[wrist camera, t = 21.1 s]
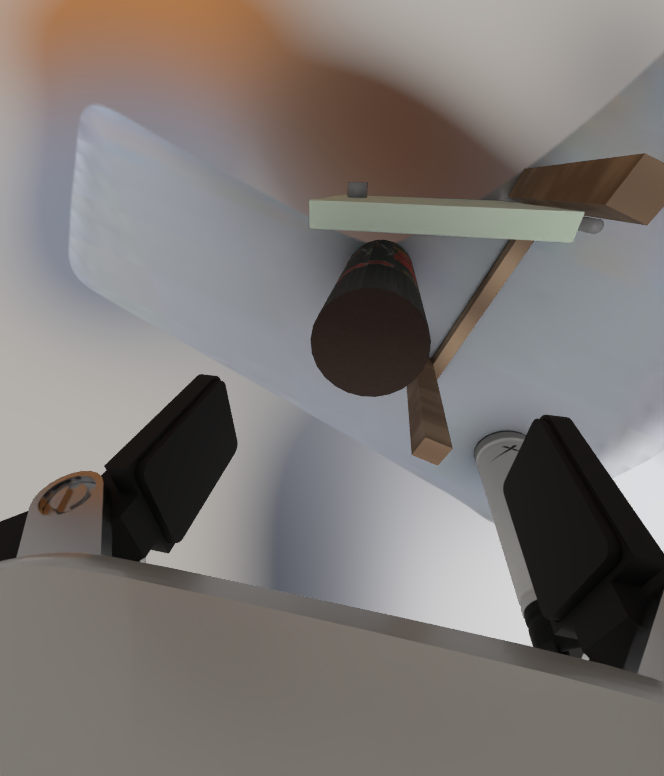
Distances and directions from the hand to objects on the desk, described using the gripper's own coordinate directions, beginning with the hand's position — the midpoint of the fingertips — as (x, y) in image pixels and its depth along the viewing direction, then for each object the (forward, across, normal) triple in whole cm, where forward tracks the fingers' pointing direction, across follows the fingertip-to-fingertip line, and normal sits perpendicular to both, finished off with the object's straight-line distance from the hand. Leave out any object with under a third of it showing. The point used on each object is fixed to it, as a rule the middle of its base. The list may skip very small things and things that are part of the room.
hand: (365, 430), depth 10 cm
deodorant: (+22, +1, +1) cm, 22 cm away
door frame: (+22, -7, +2) cm, 23 cm away
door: (+21, -2, -5) cm, 22 cm away
